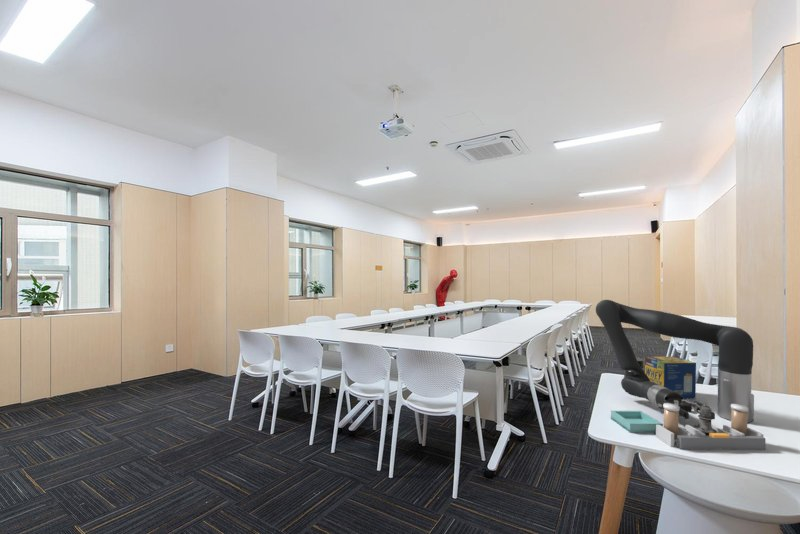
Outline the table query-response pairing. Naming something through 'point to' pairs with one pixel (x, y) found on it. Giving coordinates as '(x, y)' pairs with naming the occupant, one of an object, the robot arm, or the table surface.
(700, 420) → the salt shaker
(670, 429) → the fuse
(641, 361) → the ink bottle
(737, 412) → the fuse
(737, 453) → the table surface
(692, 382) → the protein box
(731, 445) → the fuse rail
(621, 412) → the tray
